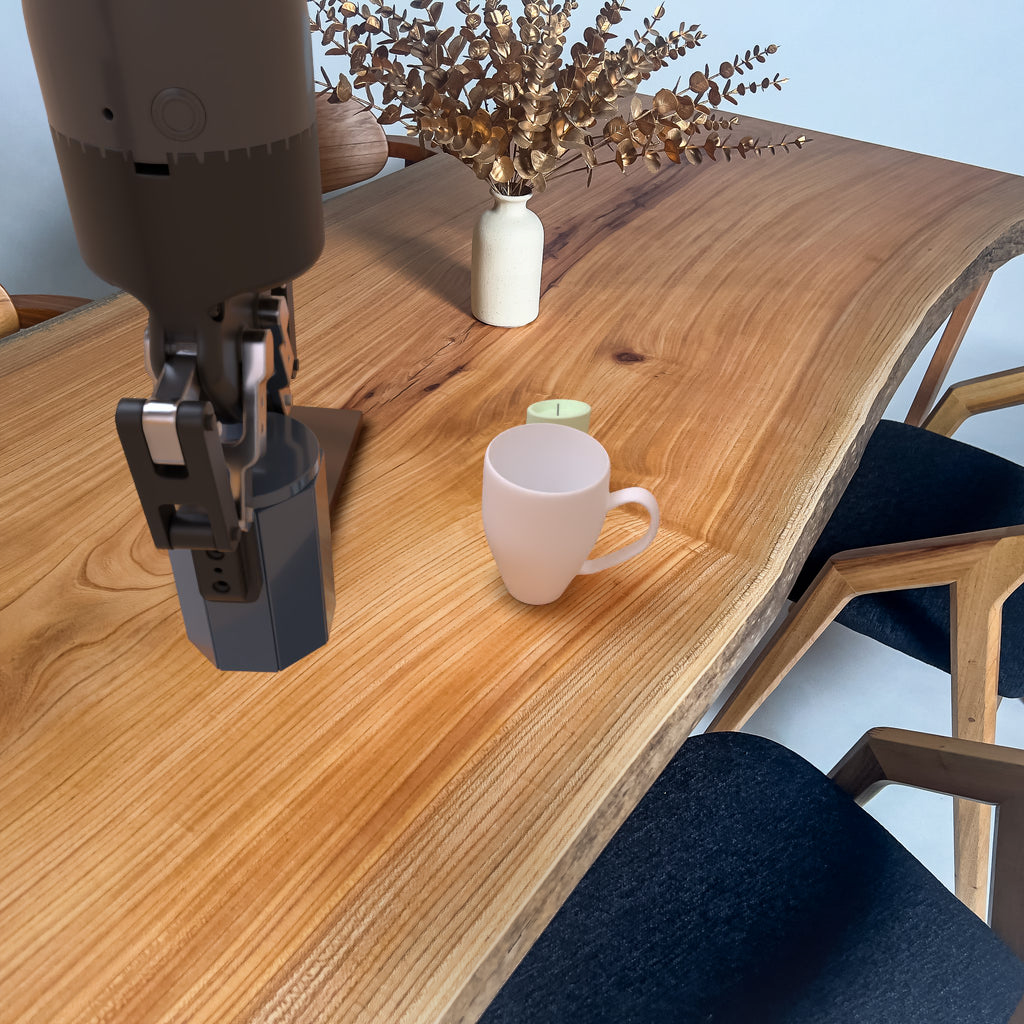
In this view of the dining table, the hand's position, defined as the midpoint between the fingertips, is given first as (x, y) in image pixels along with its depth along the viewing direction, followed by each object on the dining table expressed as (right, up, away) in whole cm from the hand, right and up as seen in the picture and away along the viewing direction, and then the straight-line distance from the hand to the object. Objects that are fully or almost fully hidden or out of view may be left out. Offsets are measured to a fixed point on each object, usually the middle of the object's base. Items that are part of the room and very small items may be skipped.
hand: (251, 539), depth 37 cm
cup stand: (-7, +2, +35) cm, 36 cm away
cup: (0, -4, +3) cm, 5 cm away
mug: (+14, -5, +29) cm, 32 cm away
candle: (+14, +3, +39) cm, 41 cm away
